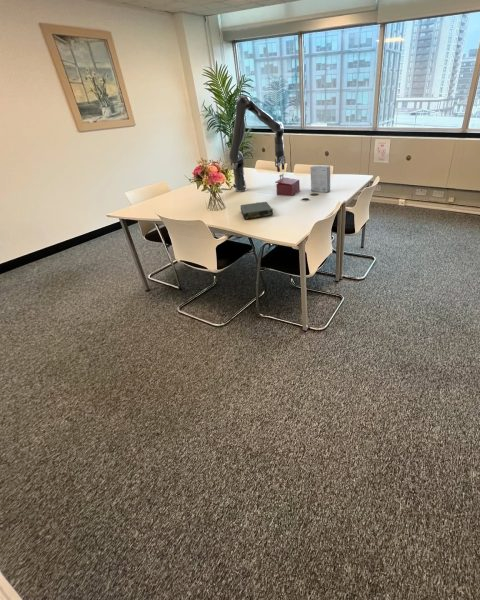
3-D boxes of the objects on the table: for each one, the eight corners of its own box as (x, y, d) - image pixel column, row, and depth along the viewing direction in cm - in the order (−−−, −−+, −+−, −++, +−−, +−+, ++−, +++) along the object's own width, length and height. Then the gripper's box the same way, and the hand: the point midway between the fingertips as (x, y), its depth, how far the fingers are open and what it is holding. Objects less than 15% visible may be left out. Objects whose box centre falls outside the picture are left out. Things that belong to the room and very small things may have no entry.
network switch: (245, 221, 221) (244, 214, 219) (237, 211, 239) (236, 205, 237) (276, 215, 229) (276, 208, 226) (266, 206, 247) (265, 200, 244)
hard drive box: (330, 190, 276) (330, 165, 265) (327, 192, 270) (327, 167, 259) (314, 188, 282) (313, 165, 271) (310, 191, 276) (310, 167, 265)
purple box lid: (275, 182, 267) (275, 175, 263) (283, 178, 278) (283, 171, 275) (291, 185, 262) (291, 178, 258) (299, 180, 273) (299, 173, 270)
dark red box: (277, 194, 272) (276, 184, 267) (285, 190, 284) (284, 179, 279) (292, 196, 267) (291, 185, 262) (299, 191, 278) (299, 180, 273)
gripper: (279, 148, 265) (280, 168, 274) (271, 151, 254) (273, 172, 263) (287, 148, 262) (288, 169, 271) (279, 151, 251) (281, 172, 260)
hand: (280, 170), depth 267 cm, fingers open, 8 cm apart
